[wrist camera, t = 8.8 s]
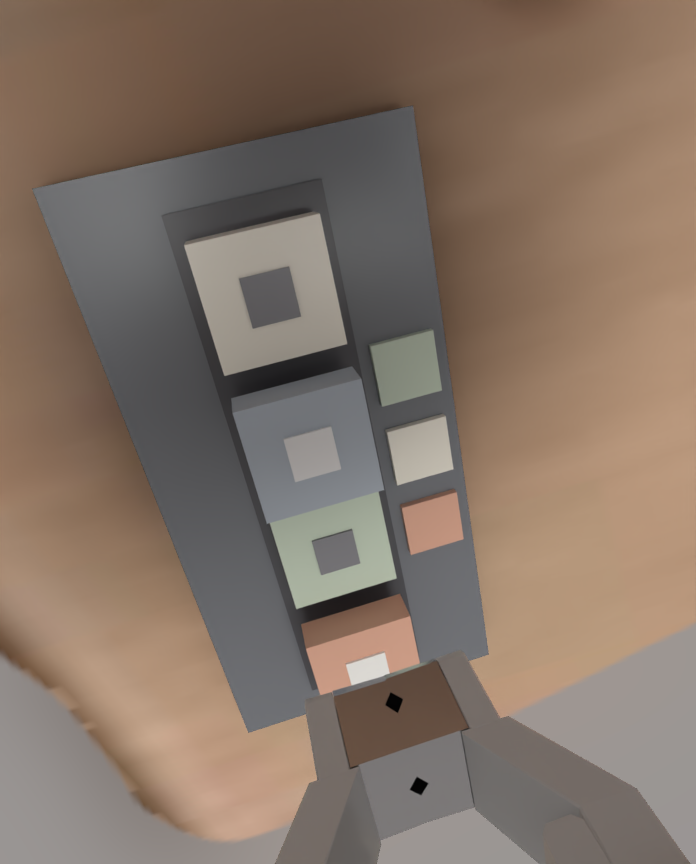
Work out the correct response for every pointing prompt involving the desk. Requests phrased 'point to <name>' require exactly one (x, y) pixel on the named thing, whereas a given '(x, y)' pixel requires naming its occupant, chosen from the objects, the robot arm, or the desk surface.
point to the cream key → (267, 292)
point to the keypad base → (279, 380)
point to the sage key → (335, 550)
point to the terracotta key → (360, 644)
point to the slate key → (308, 443)
